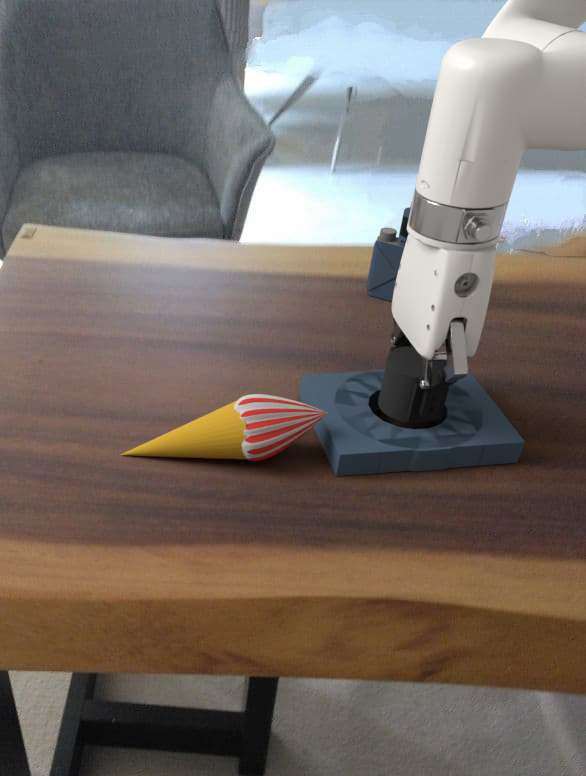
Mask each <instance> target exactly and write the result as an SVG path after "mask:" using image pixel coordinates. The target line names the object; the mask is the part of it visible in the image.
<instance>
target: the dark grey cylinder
mask: <svg viewBox="0 0 586 776" xmlns="http://www.w3.org/2000/svg"><path fill="white" fill-rule="evenodd" d="M389 352H390V351H389ZM435 352H439V351H438V350H437V349H435ZM421 357H422V356H421V355H420V354H419V353H418V352H417V350H416V349H415V348H414V346H404V347H400V348H397V349H394V350H393V351H391V352H390V353H388V355H387V358H386V363H385V367H384V370H385V371H384V376H383V381H382V385H381V390H380V395H379V399H378V405H379V408H380V411H381V412H382V413H383V414H384V415H386V416H387V417H388V418H391V419H392V420H395V421H398V422H401V423H407V424H408V423H409V424H411V423H410V422H409V421H408V419H407V414H408V410H409V406H410V402H411V398H412V394H413V390H414V385H415V384H416V383H420V371H421ZM442 369H444V360H439V361H432V371H431V374H432V373H433V372H435V371H437V370H442ZM424 423H425V422H415V423H414V424H424Z"/></svg>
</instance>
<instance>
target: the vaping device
mask: <svg viewBox="0 0 586 776" xmlns="http://www.w3.org/2000/svg"><path fill="white" fill-rule="evenodd" d="M411 205H412V201H411V203H410V207H405V208H403V209H404V210H403V214H402V219H401V224H400V227H399V233H398V231H397V230H396V228H393V227H382V228H380V231H379V235H378V236H377V237H376V240H375V241H374V242H373V243H374V244H373V249H372V253H371V259H370V265H369V270H368V275H367V280H366V287H365V288H366V293H367V295H368V296H370V297H373V298H375V299H381V300H383V301H384V300H385V301H387V302H392V299H393V293H394V288H395V283H396V278H397V274H398V270H399V266H400V262H401V258H402V255H403V251H404V248H405V244H406V241H407V237H408V234H409V233H408V231H407V224H408V219H409V214H410V209H411ZM397 235H398V236H397Z"/></svg>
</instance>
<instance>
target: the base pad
mask: <svg viewBox="0 0 586 776" xmlns="http://www.w3.org/2000/svg"><path fill="white" fill-rule="evenodd" d="M384 371H385V369H370V370H368V371H353V372H351V371H350V372H333V373H319V374H318V373H317V374H302V375H301V379H300V386H299V393H298V396H299V399H300V400H301V403H304V404H307V405H310V406H312V407H315V408H317V409H320V410H323V411H325V412H328V413H327V414H326V415H325V416H324V417H323V418H322V419H321V420H320V421H319V422H318V423H317V424H316V425H315V426H314V427H313V429H314V431H315V433H316V435H317V438H318V440H319V442H320V445H321V446H322V449H323V451H324V453H325V455H326V457H327V460H328V462H329V464H330V467H331V468H332V470H333V473H334V475H335V477H345V476H357V475H358V476H359V475H373V474H385V473H386V474H387V473H398V472H411V473H413V472H414V473H418V472H430V471H431V472H432V471H443V470H446V469H452V468H454V469H455V468H466V467H478V466H490V465H491V466H493V465H506V464H517V463H518V461H519V459H520V458H521V457H520V456H521V454H522V451H523V449H524V446H525V444H526V441H525V440H524V439H523V437H522V436H521V435H520V433H519V432H518V431H517V429H516V428H515V427H514V426H513V425H512V423H511V422H510V420H509V419H508V418H507V417H506V415H504V413H503V412H502V411H501V409H500V407H498V405H497V404H496V403H495V401H494V400H493V399H492V398H491V396H490V395H489V394H488V392H487V391H486V390H485V389H484V387H483V386H482V385H481V384H480V382H479V381H478V380H477V379H476V377H475V376H474V374H473V373H472V372H471V371H470V369H468V374H467V376H466V377H464V378H462V379H460V380H458V381H457V382H456V383H454V384H453V386H452V387H451V388H449V390H448V394H447V397H446V401H445V405H444V408H443V412H442V415H441V418H440V419H439V420H438V421H435V422H436V423H437V425H434V426H432V427H429V428H416V429H415V428H414V429H413V428H408V427H402V426H397V425H395V424H392V423H390V422H387V421H384V420H383V419H382V418H380V417H379V416H377V415H376V414H375V413H374V412H373V411H377V410H379V409H380V408H379V405H378V399H379V395H380V390H381V385H382V381H383V376H384ZM380 410H381V409H380Z"/></svg>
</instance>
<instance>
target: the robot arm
mask: <svg viewBox="0 0 586 776" xmlns="http://www.w3.org/2000/svg"><path fill="white" fill-rule="evenodd" d="M585 23H586V0H507V1H506V2H505V4H503V6H502V7H501V9H499V11H498V12H497V14H496V15H495V16H494V17H493V19H492V20H491V21H490V23H489V25H488V26H487V28H486V29H485V31H484V32H483V34H482V36H481V37H473V38H467V39H464V40H461V41H458V42H455V43H454V44H453V45H451V46H450V47H449V48H448V49H447V51H446V52H445V54H444V55H443V57H442V60H441V63H440V66H439V71H438V74H437V80H436V85H435V88H434V94H433V100H432V103H431V104H432V105H431V107H430V108H431V109H430V114H429V118H428V122H427V126H426V132H425V137H424V142H423V147H422V151H421V157H420V161H419V167H418V171H417V177H416V181H415V185H414V186H415V187H414V189H413V194H412V195H413V196H412V201H411V202H412V205H411V204H410V207H411V209H410V214H409V219H408V224H407V231H408V233H409V234H408V237H407V241H406V244H405V248H404V251H403V255H402V258H401V262H400V266H399V270H398V274H397V278H396V283H395V288H394V293H393V299H392V301H391V314H392V320H393V325H394V326H393V327H394V328H393V330H392V333H391V335H390V345H391V346H390V348H389V353H390V352H391V351H393V350H394V349H397V348H400V347H404V346H414V348H415V349H416V350H417V352H418V353H419V354H420V355H421V356H422V357H421V371H420V383H416V384H415V385H414V390H413V394H412V398H411V402H410V406H409V410H408V414H407V419H408V421H409V422H410V423H409V424H416V423H415V422H424V423H429V422H436V421H438V420H439V419H440V418H441V415H442V412H443V408H444V405H445V401H446V397H447V394H448V390H449V388H451V387H452V386H453V384H454V383H456V382H457V381H458V380H460V379H462V378H464V377H466V376H467V374H468V370H469V367H468V359H470V358H473V357H474V356H475V354H476V353H477V350H478V347H479V343H480V340H481V336H482V332H483V329H484V325H485V320H486V317H487V312H488V308H489V302H490V297H491V294H492V287H493V282H494V275H495V267H496V258H497V248H496V246H495V245H496V244H497V242H498V240H499V238H500V233H501V231H502V227H503V224H504V220H505V216H506V213H507V210H508V206H509V204H510V200H511V196H512V194H513V193H512V192H513V189H514V185H515V182H516V179H517V175H518V171H519V168H520V164H521V161H522V158H523V154H524V153H525V152H527V151H528V150H549V151H559V152H560V151H562V152H577V151H586V32H585V31H583V30H581V29H579V28H580V27H581V26H583V24H585ZM441 347H445V351H438V352H435V350H439V349H441ZM389 353H388V354H389ZM439 360H444V369H442V370H437V371H435V372H433V373H432V374H431V371H432V361H439Z"/></svg>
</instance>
